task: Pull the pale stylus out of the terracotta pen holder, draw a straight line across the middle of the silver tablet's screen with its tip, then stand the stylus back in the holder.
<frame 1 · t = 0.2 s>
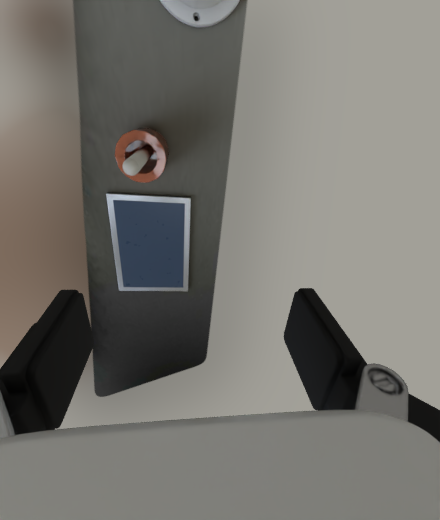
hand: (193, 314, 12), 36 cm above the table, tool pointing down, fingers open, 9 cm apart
tablet: (152, 246, 49), on the table
stylus: (147, 151, 40), point 1 cm above the table, touching holder
holder: (147, 150, 41), on the table
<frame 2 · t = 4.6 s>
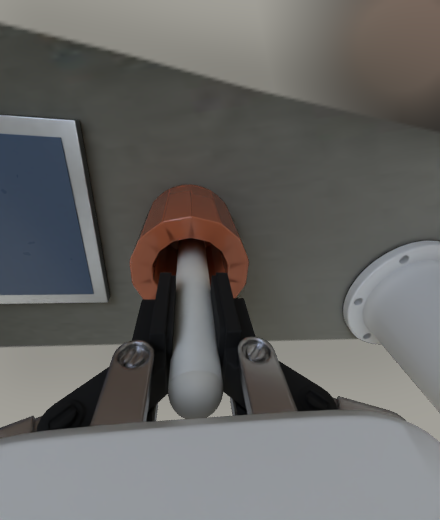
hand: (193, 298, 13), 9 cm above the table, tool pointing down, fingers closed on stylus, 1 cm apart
stylus: (191, 230, 20), point 1 cm above the table, touching gripper
holder: (189, 226, 21), on the table
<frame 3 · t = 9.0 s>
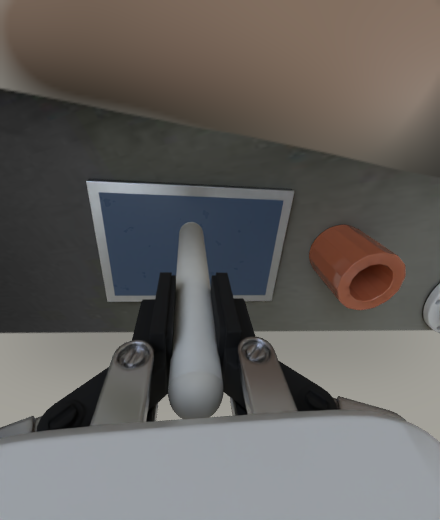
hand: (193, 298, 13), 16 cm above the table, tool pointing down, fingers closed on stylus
tablet: (193, 247, 29), on the table
stylus: (191, 230, 20), point 7 cm above the table, touching gripper
holder: (335, 250, 31), on the table
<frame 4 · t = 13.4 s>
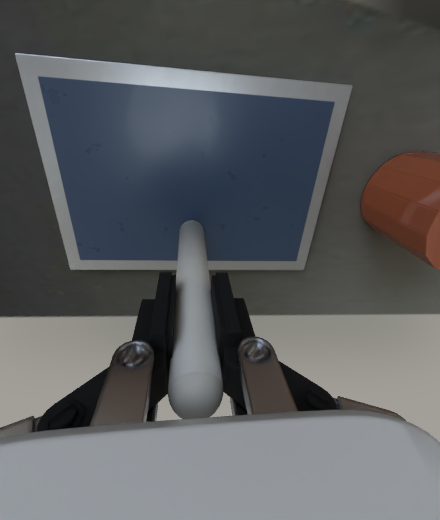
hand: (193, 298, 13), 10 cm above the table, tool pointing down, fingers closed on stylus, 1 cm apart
tablet: (194, 185, 19), on the table
stylus: (191, 228, 20), point 1 cm above the table, touching gripper
holder: (399, 194, 21), on the table
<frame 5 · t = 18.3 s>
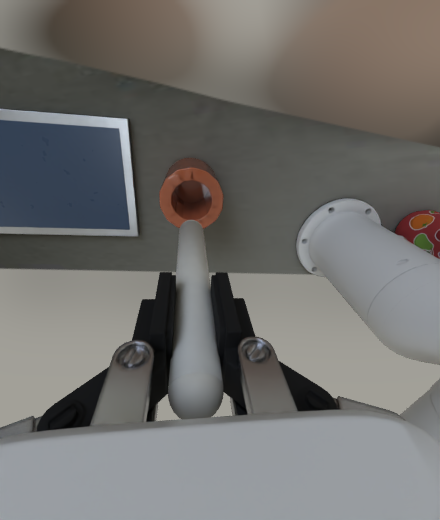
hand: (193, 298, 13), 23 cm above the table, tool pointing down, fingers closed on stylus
tablet: (48, 178, 31), on the table
stylus: (191, 228, 20), point 15 cm above the table, touching gripper
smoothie: (411, 227, 40), on the table
holder: (191, 185, 33), on the table
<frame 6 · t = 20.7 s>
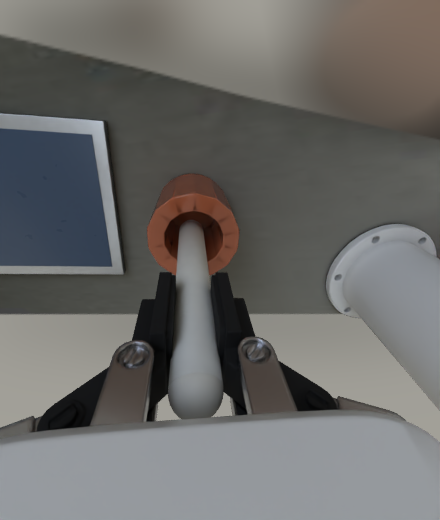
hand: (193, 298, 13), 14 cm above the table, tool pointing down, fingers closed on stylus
stylus: (191, 228, 20), point 5 cm above the table, touching gripper
holder: (193, 209, 25), on the table
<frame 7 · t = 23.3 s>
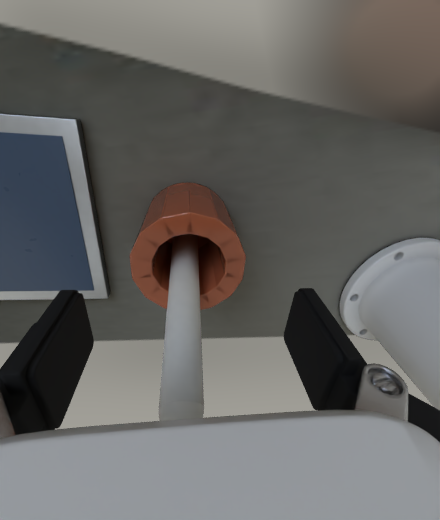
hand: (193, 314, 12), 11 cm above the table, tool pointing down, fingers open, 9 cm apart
stylus: (185, 224, 20), point 1 cm above the table, tilted 12°, touching holder
holder: (188, 223, 21), on the table
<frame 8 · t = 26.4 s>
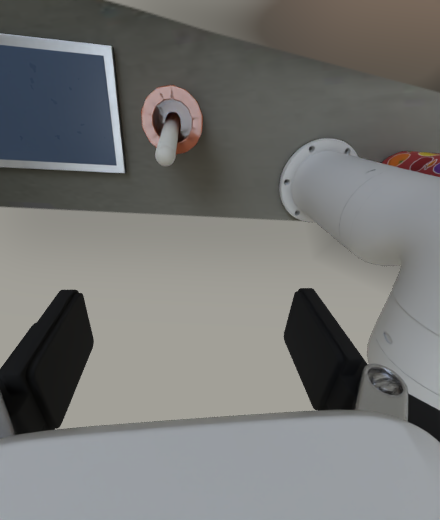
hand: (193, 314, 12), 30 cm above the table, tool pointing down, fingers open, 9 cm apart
tablet: (36, 109, 32), on the table
stylus: (173, 118, 33), point 1 cm above the table, tilted 12°, touching holder
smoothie: (390, 172, 41), on the table
holder: (175, 120, 34), on the table
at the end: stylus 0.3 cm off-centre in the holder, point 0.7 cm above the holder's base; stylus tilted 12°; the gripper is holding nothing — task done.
